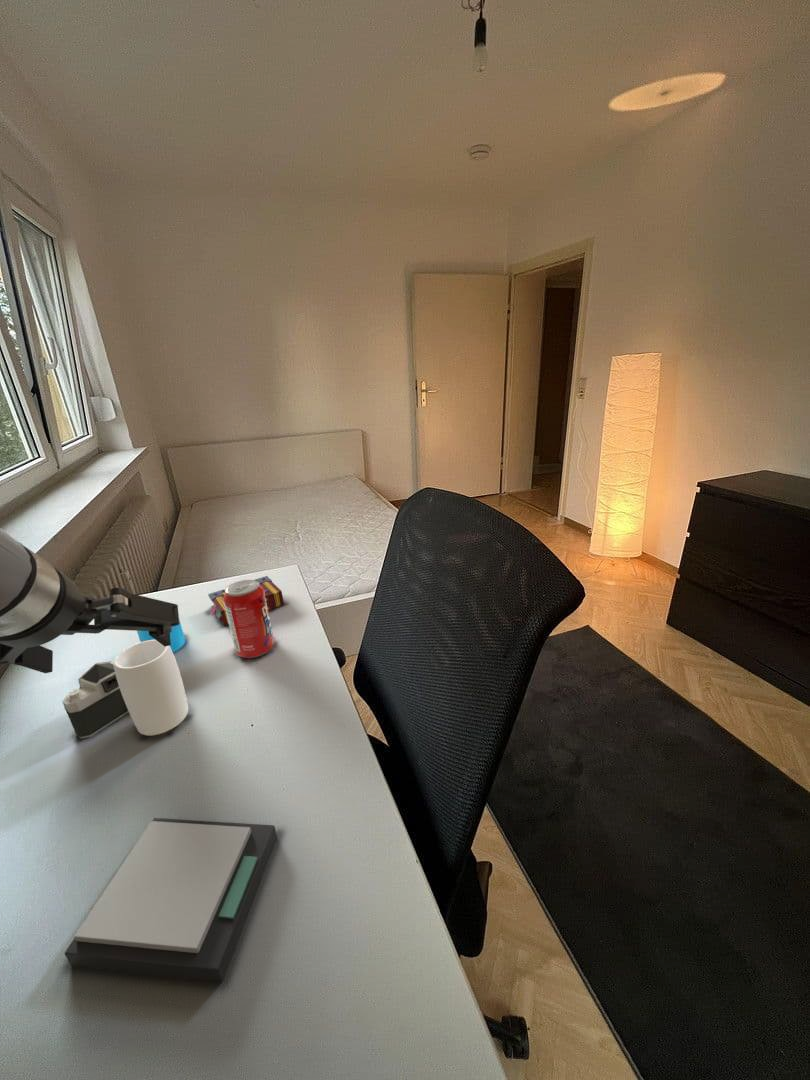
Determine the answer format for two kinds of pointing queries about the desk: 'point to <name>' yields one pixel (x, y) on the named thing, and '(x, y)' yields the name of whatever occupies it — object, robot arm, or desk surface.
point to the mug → (175, 637)
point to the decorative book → (271, 595)
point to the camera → (95, 701)
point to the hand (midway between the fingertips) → (110, 648)
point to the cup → (151, 687)
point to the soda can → (248, 618)
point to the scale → (177, 900)
